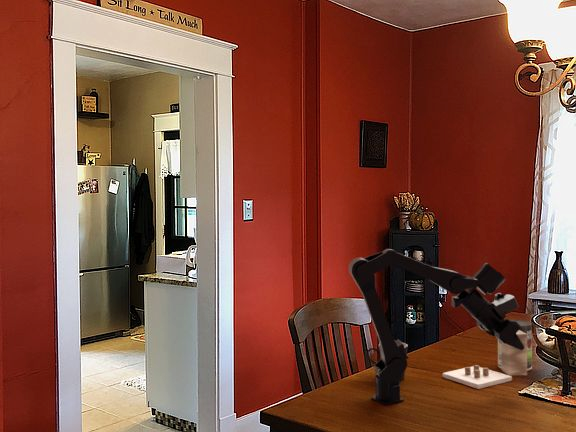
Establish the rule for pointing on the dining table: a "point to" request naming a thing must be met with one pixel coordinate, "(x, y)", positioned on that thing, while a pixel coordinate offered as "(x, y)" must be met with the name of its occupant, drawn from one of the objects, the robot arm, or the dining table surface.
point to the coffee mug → (380, 358)
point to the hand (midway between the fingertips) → (519, 346)
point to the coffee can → (527, 329)
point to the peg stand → (477, 376)
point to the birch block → (515, 357)
